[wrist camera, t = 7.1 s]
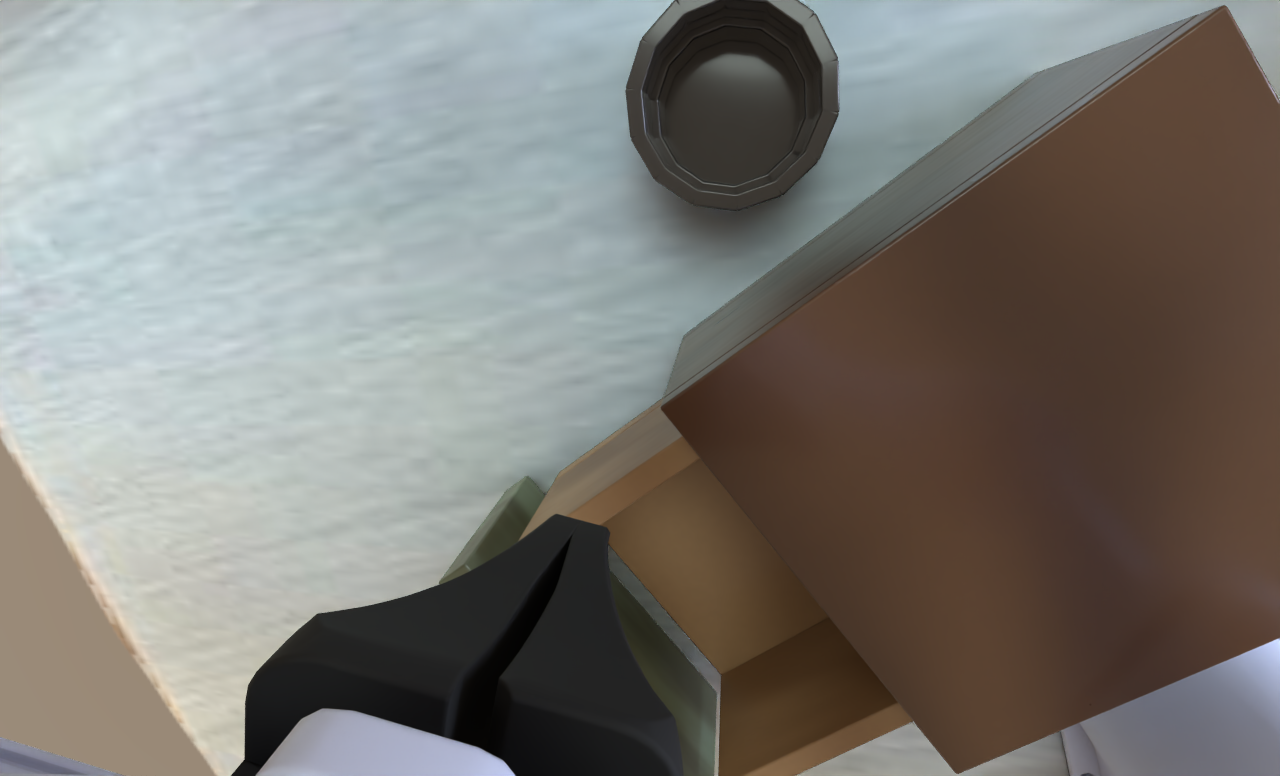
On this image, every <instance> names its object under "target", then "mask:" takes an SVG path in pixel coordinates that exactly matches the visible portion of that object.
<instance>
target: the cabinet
mask: <svg viewBox="0 0 1280 776" xmlns="http://www.w3.org/2000/svg"><path fill="white" fill-rule="evenodd" d="M660 408H661V410H662V412H663V413H664V414H665V415H666V417H667V418H668V419H669V420H670V422H671V423H672V424H673V425H674V426H675V428H676V429H677V430H678V431H679V433H680V434H681V435H682V436H683V438H684V439H685V440H686V441H687V443H688V444H689V445H690V446H691V447H692V449H693V450H694V451H695V452H696V454H697V455H698V456H699V457H700V459H701V460H702V461H703V462H704V464H705V465H706V466H707V467H708V468H709V470H710V471H711V472H712V473H713V475H714V476H715V477H716V478H717V480H718V481H719V482H720V483H721V485H722V486H723V487H724V488H725V489H726V491H727V492H728V493H729V494H730V496H731V497H732V498H733V499H734V501H735V502H736V503H737V504H738V505H739V507H740V508H741V509H742V510H743V512H744V513H745V514H746V515H747V517H748V518H749V519H750V520H751V522H752V523H753V524H754V525H755V526H756V528H757V529H758V530H759V531H760V533H761V534H762V535H763V536H764V538H765V539H766V540H767V541H768V543H769V544H770V545H771V546H772V547H773V549H774V550H775V551H776V552H777V554H778V555H779V556H780V557H781V559H782V560H783V561H784V562H785V564H786V565H787V566H788V567H789V568H790V570H791V571H792V572H793V573H794V575H795V576H796V577H797V578H798V580H799V581H800V582H801V583H802V584H803V586H804V587H805V588H806V589H807V591H808V592H809V593H810V594H811V596H812V597H813V598H814V599H815V601H816V602H817V603H818V604H819V605H820V607H821V608H822V609H823V610H824V612H825V613H826V614H827V615H828V617H829V618H830V619H831V620H832V622H833V623H834V624H835V625H836V626H837V628H838V629H839V630H840V631H841V633H842V634H843V635H844V636H845V638H846V639H847V640H848V641H849V643H850V644H851V645H852V646H853V647H854V649H855V650H856V651H857V652H858V654H859V655H860V656H861V657H862V659H863V660H864V661H865V662H866V663H867V665H868V666H869V667H870V668H871V670H872V671H873V672H874V673H875V675H876V676H877V677H878V678H879V680H880V681H881V682H882V683H883V684H884V686H885V687H886V688H887V689H888V691H889V692H890V693H891V694H892V696H893V697H894V698H895V699H896V701H897V702H898V703H899V704H900V705H901V707H902V708H903V709H904V710H905V712H906V713H907V714H908V715H909V717H910V718H911V719H912V720H913V722H914V723H915V724H916V725H917V726H918V728H919V729H920V730H921V731H922V733H923V734H924V735H925V736H926V738H927V739H928V740H929V741H930V742H931V744H932V745H933V746H934V747H935V749H936V750H937V751H938V752H939V754H940V755H941V756H942V757H943V759H944V760H945V761H946V762H947V763H948V765H949V766H950V767H951V768H952V770H953V771H954V772H955V773H956V774H959V773H962V772H964V771H966V770H969V769H971V768H974V767H976V766H978V765H981V764H983V763H985V762H988V761H990V760H993V759H995V758H997V757H1000V756H1002V755H1004V754H1007V753H1009V752H1011V751H1014V750H1016V749H1019V748H1021V747H1023V746H1026V745H1028V744H1030V743H1033V742H1035V741H1038V740H1040V739H1042V738H1045V737H1047V736H1049V735H1052V734H1054V733H1056V732H1059V731H1061V730H1064V729H1066V728H1068V727H1071V726H1073V725H1075V724H1078V723H1080V722H1082V721H1085V720H1087V719H1090V718H1092V717H1094V716H1097V715H1099V714H1101V713H1104V712H1106V711H1109V710H1111V709H1113V708H1116V707H1118V706H1120V705H1123V704H1125V703H1127V702H1130V701H1132V700H1135V699H1137V698H1139V697H1142V696H1144V695H1146V694H1149V693H1151V692H1154V691H1156V690H1158V689H1161V688H1163V687H1165V686H1168V685H1170V684H1172V683H1175V682H1177V681H1180V680H1182V679H1184V678H1187V677H1189V676H1191V675H1194V674H1196V673H1199V672H1201V671H1203V670H1206V669H1208V668H1210V667H1213V666H1215V665H1217V664H1220V663H1222V662H1225V661H1227V660H1229V659H1232V658H1234V657H1236V656H1239V655H1241V654H1244V653H1246V652H1248V651H1251V650H1253V649H1255V648H1258V647H1260V646H1262V645H1265V644H1267V643H1270V642H1272V641H1274V640H1277V639H1279V638H1280V100H1279V99H1278V97H1277V95H1276V93H1275V91H1274V90H1273V88H1272V86H1271V84H1270V82H1269V81H1268V79H1267V77H1266V75H1265V73H1264V72H1263V70H1262V68H1261V66H1260V65H1259V63H1258V61H1257V59H1256V57H1255V56H1254V54H1253V52H1252V50H1251V48H1250V47H1249V45H1248V43H1247V41H1246V39H1245V38H1244V36H1243V34H1242V32H1241V31H1240V29H1239V27H1238V25H1237V23H1236V22H1235V20H1234V18H1233V16H1232V14H1231V13H1230V11H1229V9H1228V7H1227V6H1225V5H1223V6H1220V7H1217V8H1215V9H1212V10H1209V11H1206V12H1204V13H1201V14H1198V15H1195V16H1192V17H1189V18H1186V19H1184V20H1181V21H1178V22H1175V23H1172V24H1170V25H1167V26H1164V27H1161V28H1159V29H1156V30H1153V31H1150V32H1148V33H1145V34H1142V35H1139V36H1137V37H1134V38H1131V39H1128V40H1126V41H1123V42H1120V43H1117V44H1115V45H1112V46H1109V47H1106V48H1104V49H1101V50H1098V51H1095V52H1093V53H1090V54H1087V55H1084V56H1081V57H1079V58H1076V59H1073V60H1070V61H1068V62H1065V63H1062V64H1059V65H1057V66H1054V67H1051V68H1048V69H1046V70H1043V71H1040V72H1037V73H1035V74H1033V75H1032V76H1031V77H1029V78H1028V79H1027V80H1025V81H1024V82H1023V83H1021V84H1020V85H1019V86H1017V87H1016V88H1015V89H1013V90H1012V91H1011V92H1009V93H1008V94H1007V95H1005V96H1004V97H1003V98H1001V99H1000V100H999V101H997V102H996V103H995V104H993V105H992V106H990V107H989V108H988V109H986V110H985V111H984V112H982V113H981V114H980V115H978V116H977V117H976V118H974V119H973V120H972V121H970V122H969V123H968V124H966V125H965V126H964V127H962V128H961V129H960V130H958V131H957V132H956V133H954V134H953V135H952V136H950V137H949V138H948V139H946V140H945V141H944V142H942V143H941V144H940V145H938V146H937V147H936V148H934V149H933V150H931V151H930V152H929V153H927V154H926V155H925V156H923V157H922V158H921V159H919V160H918V161H917V162H915V163H914V164H913V165H911V166H910V167H909V168H907V169H906V170H905V171H903V172H902V173H901V174H899V175H898V176H897V177H895V178H894V179H893V180H891V181H890V182H889V183H887V184H886V185H885V186H883V187H882V188H881V189H879V190H878V191H877V192H875V193H874V194H873V195H871V196H870V197H868V198H867V199H866V200H864V201H863V202H862V203H860V204H859V205H858V206H856V207H855V208H854V209H852V210H851V211H850V212H848V213H847V214H846V215H844V216H843V217H842V218H840V219H839V220H838V221H836V222H835V223H834V224H832V225H831V226H830V227H828V228H827V229H826V230H824V231H823V232H822V233H820V234H819V235H818V236H816V237H815V238H814V239H812V240H811V241H809V242H808V243H807V244H805V245H804V246H803V247H801V248H800V249H799V250H797V251H796V252H795V253H793V254H792V255H791V256H789V257H788V258H787V259H785V260H784V261H783V262H781V263H780V264H779V265H777V266H776V267H775V268H773V269H772V270H771V271H769V272H768V273H767V274H765V275H764V276H763V277H761V278H760V279H759V280H757V281H756V282H755V283H753V284H752V285H750V286H749V287H748V288H746V289H745V290H744V291H742V292H741V293H740V294H738V295H737V296H736V297H734V298H733V299H732V300H730V301H729V302H728V303H726V304H725V305H724V306H722V307H721V308H720V309H718V310H717V311H716V312H714V313H713V314H712V315H710V316H709V317H708V318H706V319H705V320H704V321H702V322H701V323H700V324H698V325H697V326H696V327H694V328H693V329H691V330H690V331H689V332H687V333H686V334H685V335H684V336H683V339H682V342H681V345H680V348H679V351H678V354H677V357H676V360H675V363H674V366H673V370H672V373H671V376H670V379H669V382H668V385H667V388H666V391H665V394H664V397H663V401H662V404H661V407H660Z"/></svg>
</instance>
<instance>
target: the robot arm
mask: <svg viewBox="0 0 1280 776" xmlns="http://www.w3.org/2000/svg"><path fill="white" fill-rule="evenodd" d="M609 537H610V531H609V530H608V528H607V527H604V526H600V525H597V524H593V523H589V522H586V521H582V520H578V519H574V518H571V517H567V516H563V515H560V514H555V515H553V516H551V517H550V518H548V519H547V520H546V521H545V522H543V523H542V524H541V525H540V526H538V527H537V528H536V529H534V530H533V531H532V532H530V533H529V534H528V535H526V536H525V537H524V538H522V539H521V540H519V541H518V542H516V543H515V544H514V545H512V546H511V547H509V548H508V549H506V550H505V551H503V552H502V553H500V554H498V555H497V556H495V557H493V558H492V559H490V560H488V561H487V562H485V563H483V564H482V565H480V566H478V567H476V568H475V569H473V570H471V571H469V572H467V573H465V574H463V575H461V576H459V577H456V578H454V579H452V580H450V581H447V582H445V583H443V584H440V585H437V586H434V587H431V588H429V589H426V590H423V591H420V592H417V593H414V594H412V595H408V596H405V597H401V598H398V599H394V600H391V601H386V602H382V603H378V604H374V605H369V606H364V607H359V608H353V609H346V610H340V611H334V612H327V613H319V614H316V615H315V616H314V617H313V618H312V619H311V620H310V621H308V622H307V623H306V624H305V625H303V626H302V627H301V628H300V629H299V630H297V631H296V632H295V633H294V634H293V635H292V636H291V637H290V638H289V639H288V640H287V641H286V642H285V643H284V644H283V645H282V646H281V647H280V648H279V649H278V650H277V651H276V652H275V653H274V654H273V655H272V656H271V657H270V658H269V659H268V660H267V661H266V662H265V663H264V664H263V666H262V667H261V668H260V669H259V670H258V671H257V672H256V673H255V675H254V677H253V678H252V680H251V682H250V683H249V685H248V690H247V695H246V701H245V760H244V761H243V762H242V763H241V764H240V766H239V767H238V768H237V769H236V770H235V772H234V773H233V774H232V775H231V776H684V775H683V762H682V753H681V747H680V740H679V735H678V730H677V725H676V720H675V718H674V716H673V715H672V713H671V712H670V711H669V710H668V708H667V707H666V706H665V704H664V703H663V702H662V701H661V699H660V698H659V697H658V696H657V694H656V693H655V692H654V690H653V689H652V687H651V686H650V684H649V682H648V681H647V679H646V678H645V676H644V674H643V672H642V670H641V668H640V666H639V664H638V662H637V660H636V658H635V656H634V654H633V653H632V650H631V648H630V646H629V643H628V641H627V638H626V636H625V633H624V631H623V628H622V625H621V622H620V619H619V616H618V612H617V609H616V605H615V601H614V596H613V592H612V587H611V580H610V573H609V565H608V542H609ZM1061 734H1062V738H1063V743H1064V748H1065V753H1066V758H1067V763H1068V768H1069V773H1070V776H1280V638H1279V639H1277V640H1274V641H1272V642H1270V643H1267V644H1265V645H1262V646H1260V647H1258V648H1255V649H1253V650H1251V651H1248V652H1246V653H1244V654H1241V655H1239V656H1236V657H1234V658H1232V659H1229V660H1227V661H1225V662H1222V663H1220V664H1217V665H1215V666H1213V667H1210V668H1208V669H1206V670H1203V671H1201V672H1199V673H1196V674H1194V675H1191V676H1189V677H1187V678H1184V679H1182V680H1180V681H1177V682H1175V683H1172V684H1170V685H1168V686H1165V687H1163V688H1161V689H1158V690H1156V691H1154V692H1151V693H1149V694H1146V695H1144V696H1142V697H1139V698H1137V699H1135V700H1132V701H1130V702H1127V703H1125V704H1123V705H1120V706H1118V707H1116V708H1113V709H1111V710H1109V711H1106V712H1104V713H1101V714H1099V715H1097V716H1094V717H1092V718H1090V719H1087V720H1085V721H1082V722H1080V723H1078V724H1075V725H1073V726H1071V727H1068V728H1066V729H1064V730H1061ZM1085 773H1087V774H1085ZM1082 774H1083V775H1082ZM0 776H124V775H121V774H118V773H114V772H111V771H108V770H105V769H102V768H99V767H95V766H92V765H89V764H85V763H82V762H79V761H76V760H73V759H70V758H66V757H63V756H60V755H57V754H53V753H50V752H47V751H43V750H40V749H37V748H34V747H31V746H28V745H24V744H21V743H18V742H15V741H11V740H8V739H5V738H2V737H0Z"/></svg>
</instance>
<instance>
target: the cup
mask: <svg viewBox="0 0 1280 776" xmlns="http://www.w3.org/2000/svg"><path fill="white" fill-rule="evenodd" d="M626 101H627V110H628V120H629V130H630V137H631V138H632V139H631V141H632V142H633V144H634V146H635V148H636V149H637V151H638V153H639V154H640V156H641V158H642V160H643V161H644V163H645V165H646V167H647V168H648V170H649V172H650V173H651V175H652V177H653V178H654V179H655V180H656V181H657V182H658V183H660V184H661V185H663V186H664V187H665V188H667V189H668V190H670V191H671V192H673V193H674V194H676V195H677V196H679V197H680V198H682V199H683V200H685V201H686V202H688V203H689V204H691V205H692V204H693V205H694V206H700V207H708V208H715V209H723V210H731V211H737V210H738V211H740V210H742V209H745V208H748V207H751V206H754V205H757V204H760V203H763V202H766V201H769V200H772V199H775V198H778V197H780V196H781V195H784V194H785V193H786V192H787V191H788V190H789V189H790V188H791V187H792V186H793V185H794V184H795V183H796V182H797V181H799V180H800V179H801V178H802V177H803V176H804V175H805V174H806V173H807V172H808V171H809V170H810V169H811V168H812V167H813V166H814V165H815V164H816V163H817V162H818V160H819V159H820V157H821V155H822V153H823V150H824V148H825V145H826V143H827V141H828V138H829V136H830V134H831V131H832V129H833V127H834V124H835V122H836V120H837V117H838V115H839V113H838V112H839V61H838V57H837V55H836V53H835V51H834V49H833V47H832V45H831V43H830V41H829V39H828V37H827V35H826V33H825V31H824V29H823V27H822V25H821V23H820V21H819V19H818V17H817V15H816V14H814V11H813V10H811V9H810V8H808V7H807V6H806V5H804V4H803V3H801V2H800V1H798V0H674V1H673V3H672V4H671V5H670V6H669V7H668V8H667V9H666V11H665V12H664V13H663V14H662V15H661V16H660V17H659V19H658V20H657V21H656V22H655V23H654V24H653V25H652V27H651V28H650V29H649V30H648V31H647V32H646V33H645V35H644V36H643V37H642V40H641V41H640V43H639V47H638V50H637V53H636V56H635V59H634V63H633V66H632V69H631V72H630V75H629V79H628V82H627V85H626Z"/></svg>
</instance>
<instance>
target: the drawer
mask: <svg viewBox="0 0 1280 776" xmlns="http://www.w3.org/2000/svg"><path fill="white" fill-rule="evenodd" d="M662 401H663V398H662V399H661V400H659V401H658V402H656V403H655V404H654V405H652V406H651V407H650V408H648V409H647V410H645V411H644V412H643V413H641V414H640V415H638V416H637V417H636V418H634V419H633V420H631V421H630V422H629V423H627V424H626V425H624V426H623V427H622V428H620V429H619V430H617V431H616V432H615V433H613V434H612V435H611V436H609V437H608V438H606V439H605V440H604V441H602V442H601V443H599V444H598V445H597V446H595V447H594V448H592V449H591V450H590V451H588V452H587V453H585V454H584V455H583V456H581V457H580V458H579V459H577V460H576V461H574V462H573V463H572V464H570V465H569V466H567V467H566V468H565V469H563V470H562V471H560V472H559V474H558V476H557V477H556V479H555V481H554V482H553V484H552V486H551V487H550V489H549V491H548V492H547V494H546V496H545V495H544V494H543V493H542V491H541V490H540V489H539V488H538V487H537V486H536V484H535V483H534V482H533V481H532V480H531V479H530V478H529V476H525V477H524V478H523V479H521V480H520V481H518V482H517V483H516V484H514V485H513V486H512V487H510V488H509V489H507V490H506V492H505V493H504V494H503V496H502V497H501V498H500V500H499V501H498V503H497V504H496V505H495V507H494V508H493V509H492V511H491V512H490V513H489V515H488V516H487V517H486V519H485V520H484V521H483V523H482V524H481V526H480V527H479V528H478V530H477V531H476V532H475V534H474V535H473V536H472V538H471V539H470V540H469V542H468V543H467V544H466V546H465V547H464V549H463V550H462V551H461V553H460V554H459V555H458V557H457V558H456V559H455V561H454V562H453V563H452V565H451V566H450V567H449V569H448V570H447V572H446V573H445V574H444V576H443V577H442V578H441V580H440V581H439V584H443V583H445V582H447V581H450V580H452V579H454V578H456V577H459V576H461V575H463V574H465V573H467V572H469V571H471V570H473V569H475V568H476V567H478V566H480V565H482V564H483V563H485V562H487V561H488V560H490V559H492V558H493V557H495V556H497V555H498V554H500V553H502V552H503V551H505V550H506V549H508V548H509V547H511V546H512V545H514V544H515V543H516V542H518V541H519V540H521V539H522V538H524V537H525V536H526V535H528V534H529V533H530V532H532V531H533V530H534V529H536V528H537V527H538V526H540V525H541V524H542V523H543V522H545V521H546V520H547V519H548V518H550V517H551V516H553V515H555V514H560V515H563V516H567V517H571V518H574V519H578V520H582V521H586V522H589V523H593V524H597V525H600V526H604V527H607V528H608V530H609V531H610V537H609V542H608V544H609V545H610V547H611V548H612V549H613V550H614V551H615V552H616V554H617V555H618V556H619V557H620V558H621V559H622V561H623V562H624V563H625V564H626V565H627V566H628V567H629V569H630V570H631V571H632V572H633V573H634V574H635V576H636V577H637V578H638V579H639V580H640V581H641V583H642V584H643V585H644V586H645V587H646V588H647V589H648V591H649V592H650V593H651V594H652V595H653V596H654V598H655V599H656V600H657V601H658V602H659V603H660V605H661V606H662V607H663V608H664V609H665V610H666V611H667V613H668V614H669V615H670V616H671V617H672V618H673V620H674V621H675V622H676V623H677V624H678V625H679V627H680V628H681V629H682V630H683V631H684V632H685V633H686V635H687V636H688V637H689V638H690V639H691V640H692V642H693V643H694V644H695V645H696V646H697V647H698V649H699V650H700V651H701V652H702V653H703V654H704V655H705V657H706V658H707V659H708V660H709V661H710V662H711V664H712V665H713V666H714V667H715V668H716V669H717V671H718V672H719V673H720V674H721V675H722V676H721V697H720V734H719V772H718V776H795V775H797V774H799V773H801V772H804V771H806V770H808V769H810V768H812V767H814V766H817V765H819V764H821V763H823V762H825V761H827V760H830V759H832V758H834V757H836V756H838V755H841V754H843V753H845V752H847V751H849V750H851V749H854V748H856V747H858V746H860V745H862V744H864V743H867V742H869V741H871V740H873V739H875V738H878V737H880V736H882V735H884V734H886V733H888V732H891V731H893V730H895V729H897V728H899V727H902V726H904V725H906V724H908V723H910V722H912V721H913V720H912V719H911V718H910V717H909V715H908V714H907V713H906V712H905V710H904V709H903V708H902V707H901V705H900V704H899V703H898V702H897V701H896V699H895V698H894V697H893V696H892V694H891V693H890V692H889V691H888V689H887V688H886V687H885V686H884V684H883V683H882V682H881V681H880V680H879V678H878V677H877V676H876V675H875V673H874V672H873V671H872V670H871V668H870V667H869V666H868V665H867V663H866V662H865V661H864V660H863V659H862V657H861V656H860V655H859V654H858V652H857V651H856V650H855V649H854V647H853V646H852V645H851V644H850V643H849V641H848V640H847V639H846V638H845V636H844V635H843V634H842V633H841V631H840V630H839V629H838V628H837V626H836V625H835V624H834V623H833V622H832V620H831V619H830V618H829V617H828V615H827V614H826V613H825V612H824V610H823V609H822V608H821V607H820V605H819V604H818V603H817V602H816V601H815V599H814V598H813V597H812V596H811V594H810V593H809V592H808V591H807V589H806V588H805V587H804V586H803V584H802V583H801V582H800V581H799V580H798V578H797V577H796V576H795V575H794V573H793V572H792V571H791V570H790V568H789V567H788V566H787V565H786V564H785V562H784V561H783V560H782V559H781V557H780V556H779V555H778V554H777V552H776V551H775V550H774V549H773V547H772V546H771V545H770V544H769V543H768V541H767V540H766V539H765V538H764V536H763V535H762V534H761V533H760V531H759V530H758V529H757V528H756V526H755V525H754V524H753V523H752V522H751V520H750V519H749V518H748V517H747V515H746V514H745V513H744V512H743V510H742V509H741V508H740V507H739V505H738V504H737V503H736V502H735V501H734V499H733V498H732V497H731V496H730V494H729V493H728V492H727V491H726V489H725V488H724V487H723V486H722V485H721V483H720V482H719V481H718V480H717V478H716V477H715V476H714V475H713V473H712V472H711V471H710V470H709V468H708V467H707V466H706V465H705V464H704V462H703V461H702V460H701V459H700V457H699V456H698V455H697V454H696V452H695V451H694V450H693V449H692V447H691V446H690V445H689V444H688V443H687V441H686V440H685V439H684V438H683V436H682V435H681V434H680V433H679V431H678V430H677V429H676V428H675V426H674V425H673V424H672V423H671V422H670V420H669V419H668V418H667V417H666V415H665V414H664V413H663V412H662V410H661V408H660V407H661V404H662ZM609 573H610V580H611V587H612V592H613V596H614V601H615V605H616V609H617V612H618V616H619V619H620V622H621V625H622V628H623V631H624V633H625V636H626V638H627V641H628V643H629V646H630V648H631V650H632V653H633V654H634V656H635V658H636V660H637V662H638V664H639V666H640V668H641V670H642V672H643V674H644V676H645V678H646V679H647V681H648V682H649V684H650V686H651V687H652V689H653V690H654V692H655V693H656V694H657V696H658V697H659V698H660V699H661V701H662V702H663V703H664V704H665V706H666V707H667V708H668V710H669V711H670V712H671V713H672V715H673V716H674V718H675V720H676V725H677V730H678V735H679V740H680V747H681V753H682V762H683V775H684V776H714V765H715V736H716V706H717V693H716V691H715V690H714V689H713V688H712V687H711V685H710V684H709V683H708V682H707V681H706V680H705V679H704V677H703V676H702V675H701V674H700V673H699V672H698V671H697V669H696V668H695V667H694V666H693V665H692V664H691V662H690V661H689V660H688V659H687V658H686V657H685V656H684V654H683V653H682V652H681V651H680V650H679V649H678V648H677V646H676V645H675V644H674V643H673V642H672V641H671V640H670V638H669V637H668V636H667V635H666V634H665V633H664V631H663V630H662V629H661V628H660V627H659V626H658V625H657V623H656V622H655V621H654V620H653V619H652V618H651V617H650V615H649V614H648V613H647V612H646V611H645V610H644V609H643V607H642V606H641V605H640V604H639V603H638V602H637V600H636V599H635V598H634V597H633V596H632V595H631V594H630V592H629V591H628V590H627V589H626V588H625V587H624V586H623V584H622V583H621V582H620V581H619V580H618V579H617V577H616V576H615V575H614V574H613V573H612V572H611V571H610V569H609Z"/></svg>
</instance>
